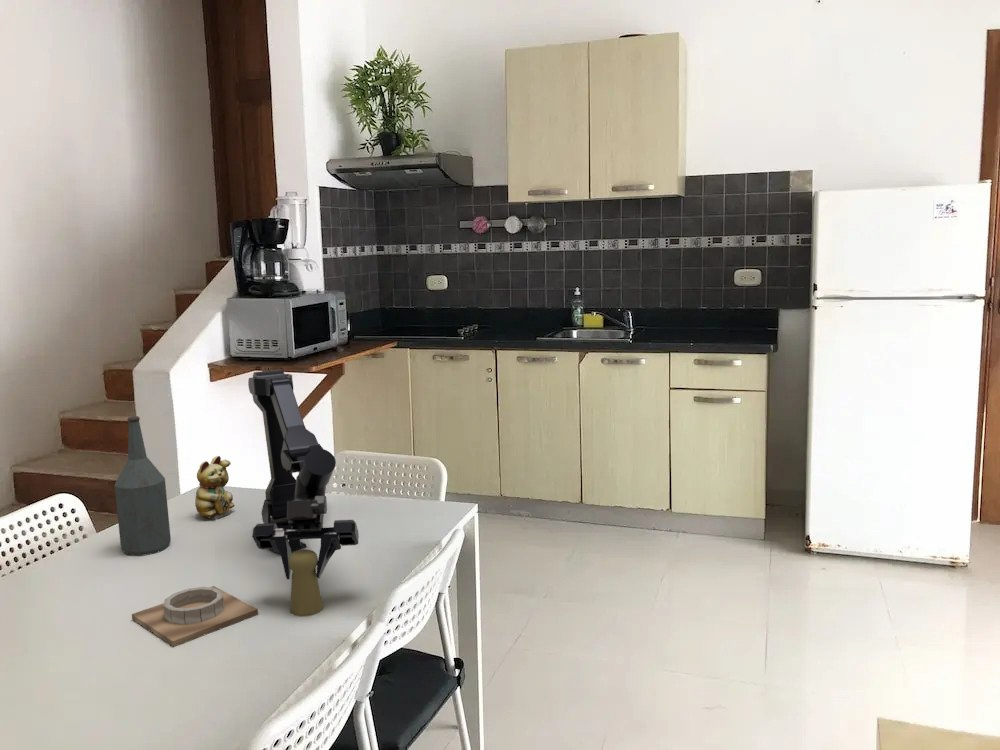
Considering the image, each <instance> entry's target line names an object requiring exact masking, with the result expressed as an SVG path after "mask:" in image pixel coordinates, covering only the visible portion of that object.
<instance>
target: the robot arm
mask: <svg viewBox="0 0 1000 750" xmlns="http://www.w3.org/2000/svg"><path fill="white" fill-rule="evenodd" d="M293 381H294V380H293V374H290V373H285V372H284V370H283V369H273V370H263V371H254V372H253V373H252V377H249V378H248V383H247V384H248V391H249V393H250V395H252V400H253V401H252V402H254V404H255V405H256V407H258V409H259V410H260V411H261V413H262V418H263V427H264V434H265V441H266V447H267V448H266V450H267V457H268V458H267V459H268V464H269V471H270V472H269V473H270V480H269V482H268V485H267V487H266V488H265V492H264V493H265V499H264V502H263V504H262V508H261V517H262V522H263V523H256V525H255V526H254V527H253V529H252V535H251V537H252V539H253V541H254V543H255V545H256V546H257V548H258V549H260V550H269V551H271V552H274V553H276V554H279V555H280V558H281V561H282V562H281V563H282V566H283V570H284V575H285V578H286V580H287V581H288V580H290V578H291V571H292V570H291V569H290V567H289V557H290V555H291V554H292V553H293V552H296V551H298V550H302V549H303V548H306V547H307V544H306V543H303V542H302V541H301V540H313V539H314V540H316V539H317V540H318V539H320V546H319V547H320V549H319V553H318V554H319V555H318V564H317V566H316V574H317V579H320V578H321V576H322V574H323V572H324V570H325V568H326V567H327V564H328V562H329V561H330V559H331V557H333V555H334V554H335V552H336V551H338V550H339V551H340V550H341V549H342V547H344V546H357V545H359V539H360V538H359V537H360V535H359V529H358V526H357V522H356V521H355V520H354V519H338V520H334V522H333V527H330V526H329V527H324V516H325V515H326V514H327V513H328V512H327V511H328V507H327V506H328V503H327V496H326V490H327V485H328V484H329V482H330V479H331V478H332V475H333V473H334V470H335V469H336V468H335V467H336V465H337V464H336V463H337V462H336V458H335V456H334V455H333V454H332V452H330V451H328V450H327V449H324V448H323V446H322V445H321V443H319V441H318V440H317V437H316V435H315V434H314V433H313V432H312V431H310V430H309V429H307V427H306V425H305V423H304V420H303V416H302V413H301V411H300V408H299V405H298V402H297V398H296V396H295V395H296V394H295V393H294V382H293ZM299 472H300V474H299ZM293 473H294V474H295V473H298V475H297V476H296V478H295V477H294V475H293Z"/></svg>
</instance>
